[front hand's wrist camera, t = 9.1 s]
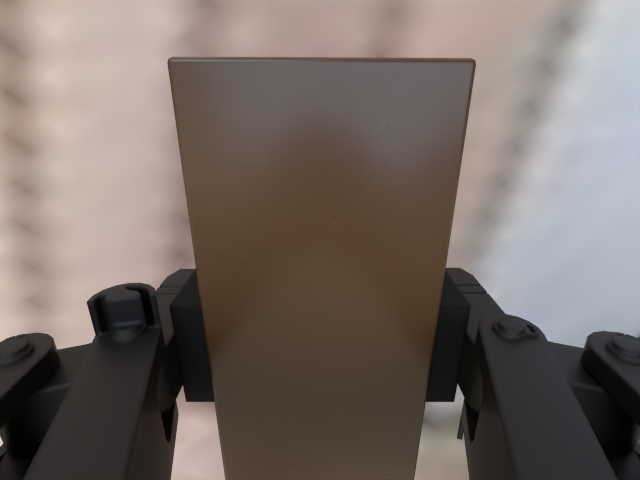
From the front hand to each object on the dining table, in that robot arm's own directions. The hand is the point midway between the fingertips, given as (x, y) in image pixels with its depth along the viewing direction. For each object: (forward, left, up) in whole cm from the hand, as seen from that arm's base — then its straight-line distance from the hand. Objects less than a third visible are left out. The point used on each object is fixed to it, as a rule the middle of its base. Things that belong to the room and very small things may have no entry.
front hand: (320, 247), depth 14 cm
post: (+24, +17, -1) cm, 29 cm away
